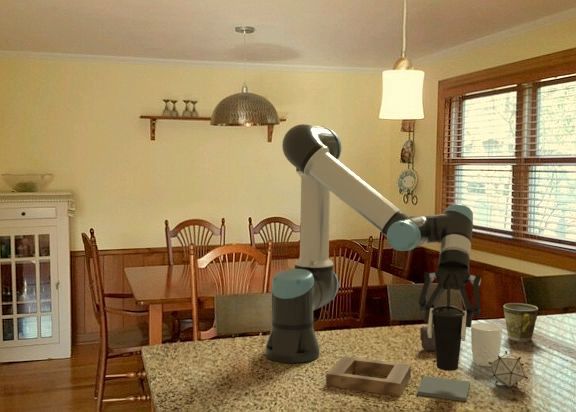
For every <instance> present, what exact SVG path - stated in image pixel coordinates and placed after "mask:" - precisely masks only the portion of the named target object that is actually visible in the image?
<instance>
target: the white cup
mask: <svg viewBox="0 0 576 412" xmlns="http://www.w3.org/2000/svg"><path fill="white" fill-rule="evenodd" d="M502 328H503V327H502V326H500V325H499V324H495V323H490V322H488V323H487V322H477V323H473V324H471V327H470V330H471V331H470V334H471V335H470V336H471V337H470V339H471V343H470V344H471V354H472V357H471V359H472V363H474V364H475V365H476V366H481V367H487V368H488V367H489V368H490V367H491V368H492V365H491V364H489V363H488V362H491V363H492V362H494V361H495V360H497V359H498V356H500V353H501V347H502V346H501V343H502V331H503V329H502Z"/></svg>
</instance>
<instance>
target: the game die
mask: <svg viewBox="0 0 576 412" xmlns="http://www.w3.org/2000/svg"><path fill="white" fill-rule="evenodd" d="M521 359H522V356H518V357H515V356H513V355H510V354H509V353H508V351H507V350H505V352H504V354H502V355H501V356H500V355H499V356H498V359H497V360H495V361H494V362H492V363H491V362H488V363H489V364H491V365H492V367H491V369H492V373H493V374H491V378H495V379H496V380H495V381H494V384H498V383H500V384H501V385H504V386H505V387H508V390H509V391H511V389H512V388H511V387H513V386H514V385H518V383H519V382H520V381H522V380H523V379H526V380H528V379H529V377H528V376H526V375H525V371H524V369H523V366H524V365H525V363H523V362H521V361H520V360H521Z"/></svg>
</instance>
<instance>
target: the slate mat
mask: <svg viewBox="0 0 576 412" xmlns="http://www.w3.org/2000/svg"><path fill="white" fill-rule="evenodd" d="M470 386H471V381H468V380H460V379H451V378H445V377H444V378H443V377H438V376H437V377H435V376H431V375H430V376H428V375H424V376H423V379H422V380H421V383H420V385H419V387H418V389H417V391H416V392H417V393H416V395H417V396H425V397H432V398H438V399H439V398H440V399H447V400H453V401H460V402H461V401H462V402H467V398H468V396H469V392H470V391H469V390H470Z"/></svg>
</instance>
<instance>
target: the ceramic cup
mask: <svg viewBox="0 0 576 412" xmlns="http://www.w3.org/2000/svg"><path fill="white" fill-rule="evenodd" d="M538 312H539V308H538V307H537V306H536V305H533V304H529V303H522V302H521V303H519V302H513V303H512V302H510V303H509V302H508V303H505V304H504V305H503V314H504V320H505V327H506V334H507V337H508V339H510V341H515V342H520V343H521V342H522V343H526V342H527V343H528V342H530V341H532V340H533V337H534V336H533V335H534V331H535V327H536V322H537V319H538V314H539V313H538Z"/></svg>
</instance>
